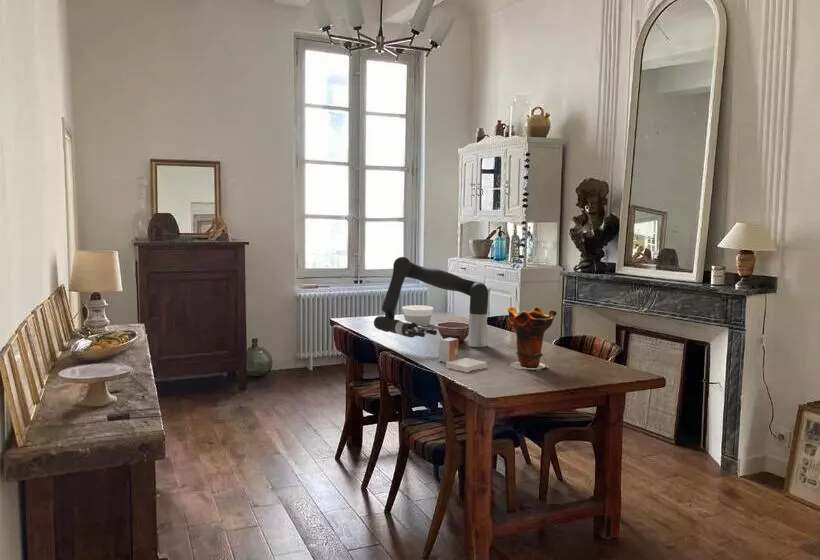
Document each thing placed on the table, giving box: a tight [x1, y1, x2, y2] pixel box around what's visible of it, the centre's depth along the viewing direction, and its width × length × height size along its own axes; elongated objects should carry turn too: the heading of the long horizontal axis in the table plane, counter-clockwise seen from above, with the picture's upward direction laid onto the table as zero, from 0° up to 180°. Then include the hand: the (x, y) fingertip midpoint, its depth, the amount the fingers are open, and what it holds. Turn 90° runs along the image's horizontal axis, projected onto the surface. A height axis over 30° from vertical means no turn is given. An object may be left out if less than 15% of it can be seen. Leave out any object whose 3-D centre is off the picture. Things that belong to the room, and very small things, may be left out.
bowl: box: [402, 304, 434, 327], centre depth 403 cm, size 19×19×11 cm
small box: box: [438, 337, 460, 363], centre depth 307 cm, size 8×6×10 cm
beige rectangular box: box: [445, 357, 488, 373], centre depth 295 cm, size 14×12×2 cm
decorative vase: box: [507, 306, 558, 371], centre depth 300 cm, size 21×23×28 cm
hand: (430, 333), depth 315 cm, fingers open, 8 cm apart
